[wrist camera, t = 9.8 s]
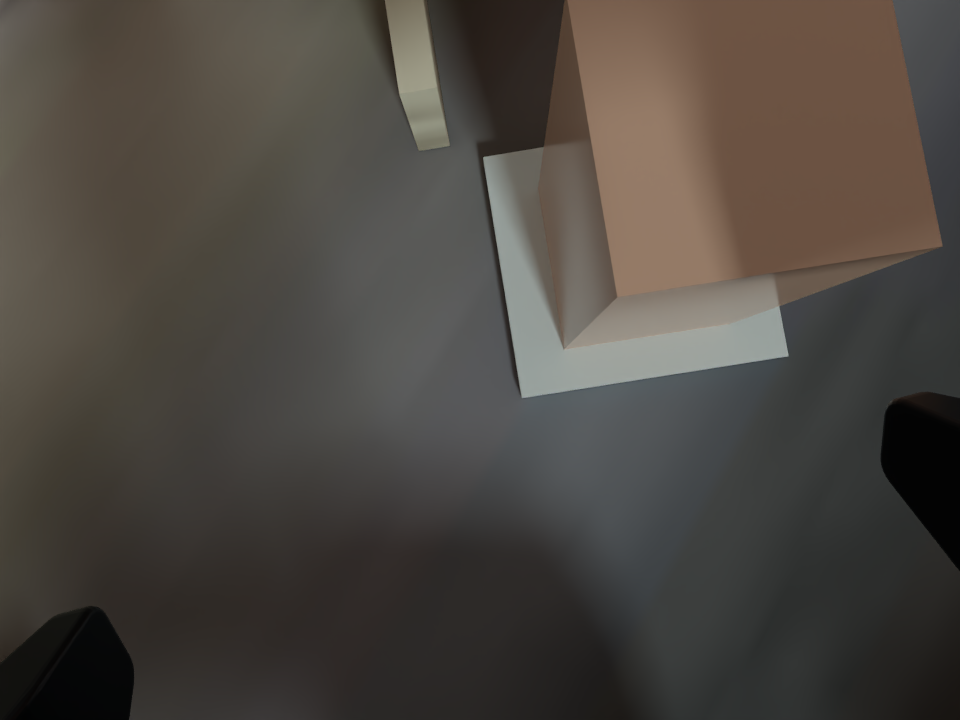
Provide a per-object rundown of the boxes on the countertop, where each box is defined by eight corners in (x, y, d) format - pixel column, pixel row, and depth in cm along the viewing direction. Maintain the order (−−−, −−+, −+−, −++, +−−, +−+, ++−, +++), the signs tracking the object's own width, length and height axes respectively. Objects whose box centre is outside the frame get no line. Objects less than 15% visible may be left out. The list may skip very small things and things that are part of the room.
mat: (780, 357, 21) (788, 355, 20) (521, 398, 21) (521, 398, 21) (735, 121, 21) (742, 113, 21) (483, 163, 22) (483, 157, 21)
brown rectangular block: (729, 324, 20) (942, 246, 10) (563, 349, 21) (617, 297, 11) (700, 162, 21) (879, -62, 11) (537, 188, 21) (566, -9, 11)
